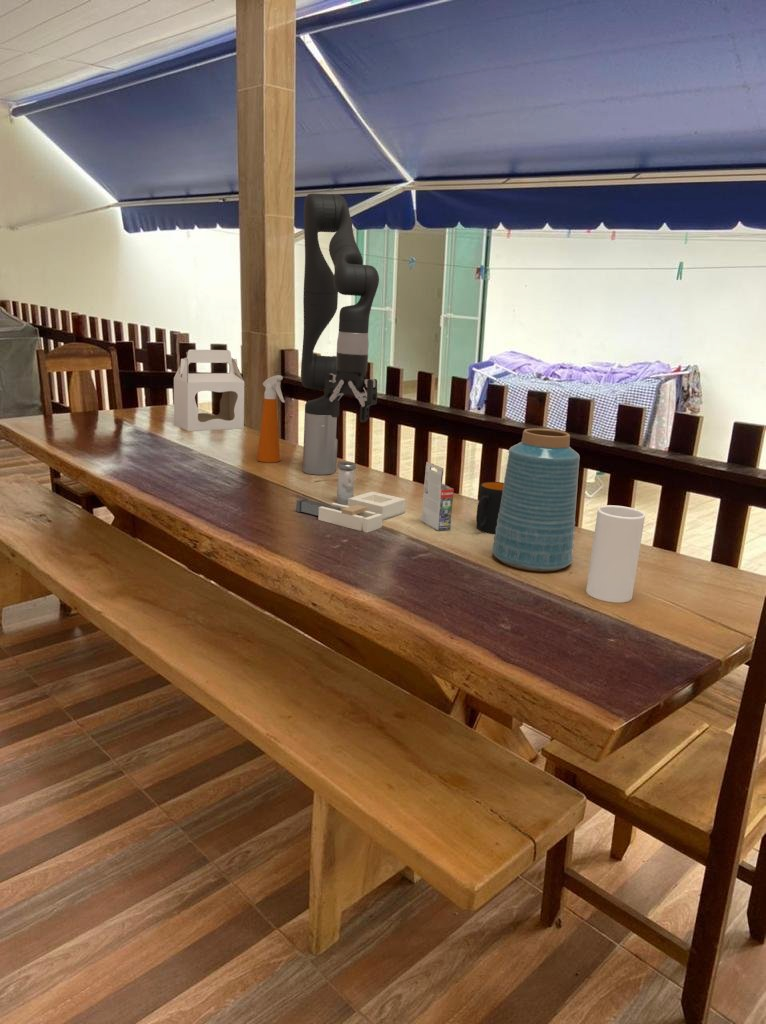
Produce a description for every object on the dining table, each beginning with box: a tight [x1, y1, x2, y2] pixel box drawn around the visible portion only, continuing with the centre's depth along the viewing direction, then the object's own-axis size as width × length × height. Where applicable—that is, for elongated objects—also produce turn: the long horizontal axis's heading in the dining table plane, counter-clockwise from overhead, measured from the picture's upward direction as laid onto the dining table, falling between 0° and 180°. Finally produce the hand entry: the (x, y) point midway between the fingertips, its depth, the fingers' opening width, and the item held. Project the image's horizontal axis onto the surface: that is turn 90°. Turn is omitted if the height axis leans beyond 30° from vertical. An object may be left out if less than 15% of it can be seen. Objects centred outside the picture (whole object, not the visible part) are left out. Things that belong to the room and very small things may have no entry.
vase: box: [491, 428, 581, 573], centre depth 157 cm, size 16×16×27 cm
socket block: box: [347, 491, 407, 522], centre depth 188 cm, size 10×10×4 cm
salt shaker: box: [336, 461, 357, 506], centre depth 194 cm, size 5×5×10 cm
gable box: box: [173, 349, 245, 432], centre depth 283 cm, size 22×13×28 cm, turn 125°
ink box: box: [421, 461, 454, 532], centre depth 179 cm, size 4×8×15 cm, turn 26°
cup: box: [585, 504, 646, 604], centre depth 142 cm, size 8×8×16 cm
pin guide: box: [317, 502, 383, 534], centre depth 177 cm, size 6×14×4 cm, turn 56°
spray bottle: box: [256, 374, 286, 464], centre depth 233 cm, size 7×11×26 cm, turn 41°
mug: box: [475, 481, 504, 535], centre depth 178 cm, size 8×12×10 cm
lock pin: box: [295, 497, 340, 516], centre depth 182 cm, size 3×11×3 cm, turn 56°
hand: (348, 419), depth 190 cm, fingers open, 8 cm apart
